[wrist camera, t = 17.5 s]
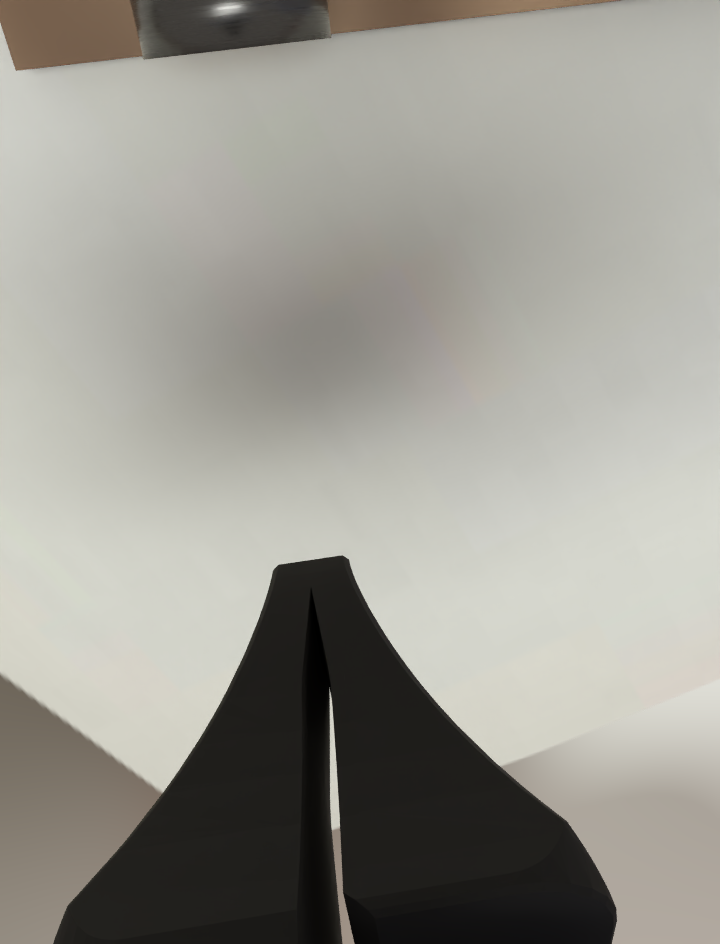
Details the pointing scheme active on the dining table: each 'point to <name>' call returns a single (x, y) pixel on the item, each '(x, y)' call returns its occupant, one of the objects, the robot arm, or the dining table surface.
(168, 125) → the dining table surface
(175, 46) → the shaft
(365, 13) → the walnut board
